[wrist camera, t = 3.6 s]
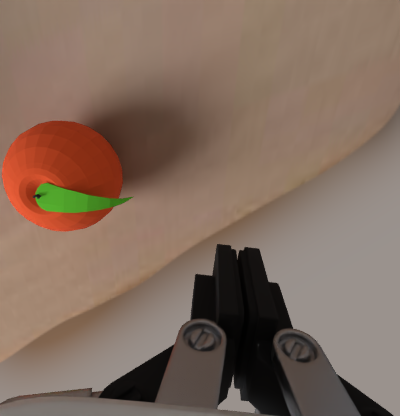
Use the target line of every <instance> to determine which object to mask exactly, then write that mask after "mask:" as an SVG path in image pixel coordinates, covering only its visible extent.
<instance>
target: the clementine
mask: <svg viewBox="0 0 400 416" xmlns="http://www.w3.org/2000/svg"><path fill="white" fill-rule="evenodd" d="M2 178H3V183H4V188H5V191H6V193H7V195H8V198H9V200H10V202H11V203H12V205H13V206H14V207H15V209H16V210H17V211H18V212H19V213H20V214H21V215H22V216H24V217H25V218H26V219H27V220H29V221H31V222H33V223H35V224H36V225H38V226H40V227H43V228H47V229H50V230H53V231H72V230H78V229H83V228H87V227H89V226H91V225H93V224H95V223H97V222H98V221H100V220H101V219H102V218H103V217H105V216H106V215H107V214H108V213H109V212H110V211H111V210H112V209H113V207H114V206H117V205H120V204H122V203H124V202H126V201H128V200H129V199H131V198H133V197H129V198H123V199H118V198H119V195H120V192H121V188H122V184H123V178H122V168H121V165H120V161H119V158H118V156H117V154H116V153H115V151H114V149H113V148H112V146H111V145H110V144H109V143H108V142H107V141H106V140H105V139H104V138H103V136H102V135H100V134H99V133H97V132H96V131H94V130H93V129H91V128H90V127H88V126H85V125H82V124H79V123H76V122H68V121H50V122H45V123H41V124H38V125H36V126H34V127H32V128H31V129H29V130H27V131H26V132H24V133H22V134H20V135H19V136H18V138H17V139H16V140H15V141H14V142H13V143H12V144H11V146H10V148H9V150H8V152H7V155H6V157H5V160H4V162H3V169H2Z"/></svg>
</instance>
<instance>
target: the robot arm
mask: <svg viewBox="0 0 400 416" xmlns="http://www.w3.org/2000/svg"><path fill="white" fill-rule="evenodd" d="M233 375H234V386H235V388H237V389H240V394H241V400H242V401H249V402H250V403H251V404H252V405H253V406H254V407H255V408H256V409H255V413H246V412H237V411H228V410H218V409H217V407H218V405H219V404H220V403H221V402H222V401H223V400H225V399H226V398H227V394H228V389H229V388H230V386H231V382H232V377H233ZM0 416H393V415H392V414H391V413H390V412H388V411H387V410H386V409H384V408H383V407H381V406H380V405H379V404H377V403H376V402H374V401H373V400H372V399H370V398H369V397H367V396H366V395H365V394H363V393H362V392H361V391H359V390H358V389H357V388H355V387H354V386H352V385H351V384H350V383H348V382H347V381H346V380H344V379H343V378H341V377H340V376H339V375H337V374H336V372H335V370H334V369H333V367H332V365H331V364H330V362H329V360H328V358H327V357H326V355H325V354H324V352H323V350H322V348H321V347H320V345H319V344H318V343H317V341H316V340H315V339H313V338H312V337H311V336H310V335H308V334H306V333H304V332H302V331H300V330H297V329H293V327H292V324H291V321H290V318H289V315H288V311H287V308H286V305H285V303H284V299H283V296H282V293H281V290H280V287H279V285H278V284H277V283H272V282H268V279H267V275H266V271H265V268H264V264H263V261H262V257H261V254H260V250H259V249H257V248H248V247H245V248H244V251H242V250H240V251H239V254H238V260H237V254H236V250H234V249H231V246H230V245H221V244H217V248H216V254H215V262H214V268H213V275H212V276H209V275H200V274H196V275H195V282H194V290H193V299H192V309H191V320H190V321H188V322H186V323H185V324H184V325H182V327H181V328H180V330H179V333H178V336H177V339H176V342H175V344H174V345H173V346H171V347H169V348H168V349H166V350H164V351H163V352H161V353H160V354H158V355H156V356H155V357H153V358H151V359H150V360H148V361H147V362H145V363H143V364H142V365H140V366H139V367H137V368H135V369H133V370H132V371H130V372H129V373H127V374H125V375H124V376H122V377H120V378H119V379H117V380H116V381H114V382H112V383H111V384H110V385H108V386H107V387H106V388H105V389H104V391H99V392H92V388H87V389H78V390H70V391H60V392H51V393H41V394H33V395H24V396H18V397H14V398H10V399H7V400H6V401H4V402H2V403H0Z"/></svg>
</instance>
